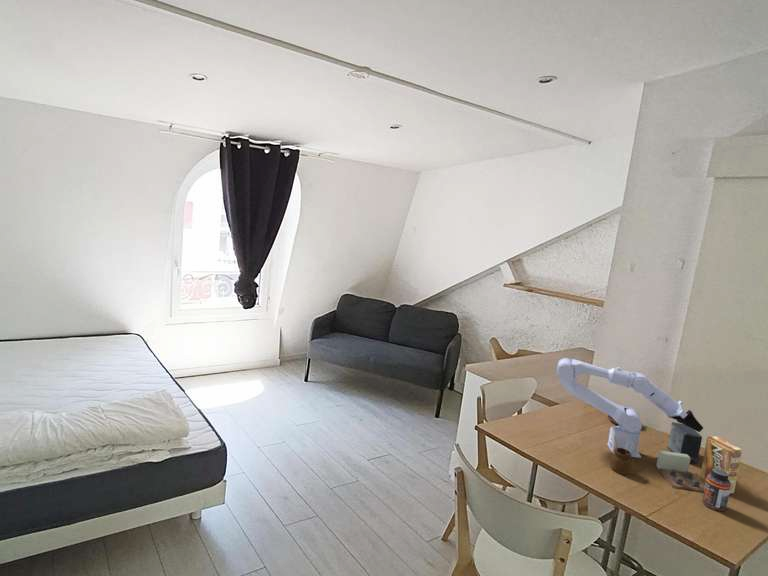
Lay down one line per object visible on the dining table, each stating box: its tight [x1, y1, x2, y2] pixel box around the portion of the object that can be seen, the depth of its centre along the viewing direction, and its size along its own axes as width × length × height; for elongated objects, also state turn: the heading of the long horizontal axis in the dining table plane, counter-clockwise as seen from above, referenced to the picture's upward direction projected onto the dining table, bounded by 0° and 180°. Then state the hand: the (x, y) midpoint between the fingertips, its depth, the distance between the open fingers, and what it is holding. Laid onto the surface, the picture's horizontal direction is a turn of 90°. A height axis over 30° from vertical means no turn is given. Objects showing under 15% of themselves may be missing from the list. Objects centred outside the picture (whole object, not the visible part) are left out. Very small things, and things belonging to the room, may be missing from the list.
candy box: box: [699, 436, 743, 495], centre depth 142 cm, size 9×4×15 cm, turn 13°
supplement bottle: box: [702, 468, 731, 512], centre depth 132 cm, size 6×6×11 cm
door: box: [656, 450, 691, 472], centre depth 151 cm, size 9×2×6 cm, turn 79°
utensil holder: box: [610, 435, 634, 475], centre depth 148 cm, size 6×6×12 cm
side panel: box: [658, 468, 706, 493], centre depth 145 cm, size 12×10×3 cm
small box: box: [667, 421, 703, 464], centre depth 162 cm, size 11×6×10 cm, turn 168°
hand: (696, 427), depth 152 cm, fingers open, 7 cm apart
